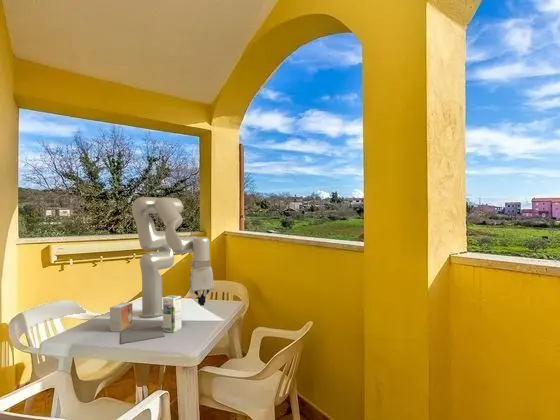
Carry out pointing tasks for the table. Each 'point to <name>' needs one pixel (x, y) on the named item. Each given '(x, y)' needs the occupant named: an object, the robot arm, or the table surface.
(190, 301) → the table surface
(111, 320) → the small box
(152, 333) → the mat
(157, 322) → the table surface
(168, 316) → the syrup box
